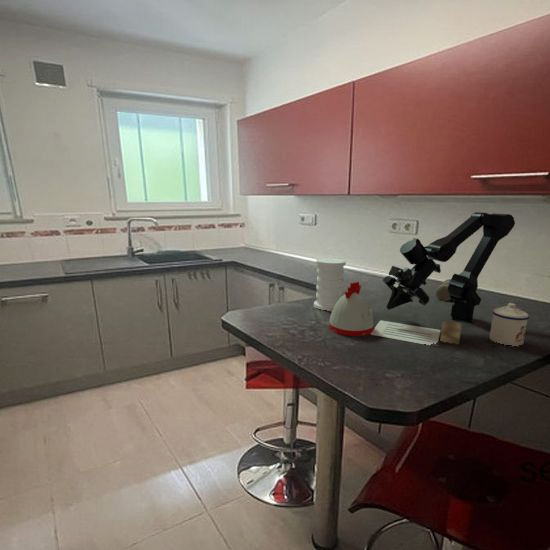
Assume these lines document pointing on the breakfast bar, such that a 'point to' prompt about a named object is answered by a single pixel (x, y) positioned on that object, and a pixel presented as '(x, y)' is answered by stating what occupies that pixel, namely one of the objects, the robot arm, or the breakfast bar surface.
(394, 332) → the letter
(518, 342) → the teacup with lid
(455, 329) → the block
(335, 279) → the decorative container
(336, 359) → the breakfast bar surface
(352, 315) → the kitchen timer
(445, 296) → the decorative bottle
